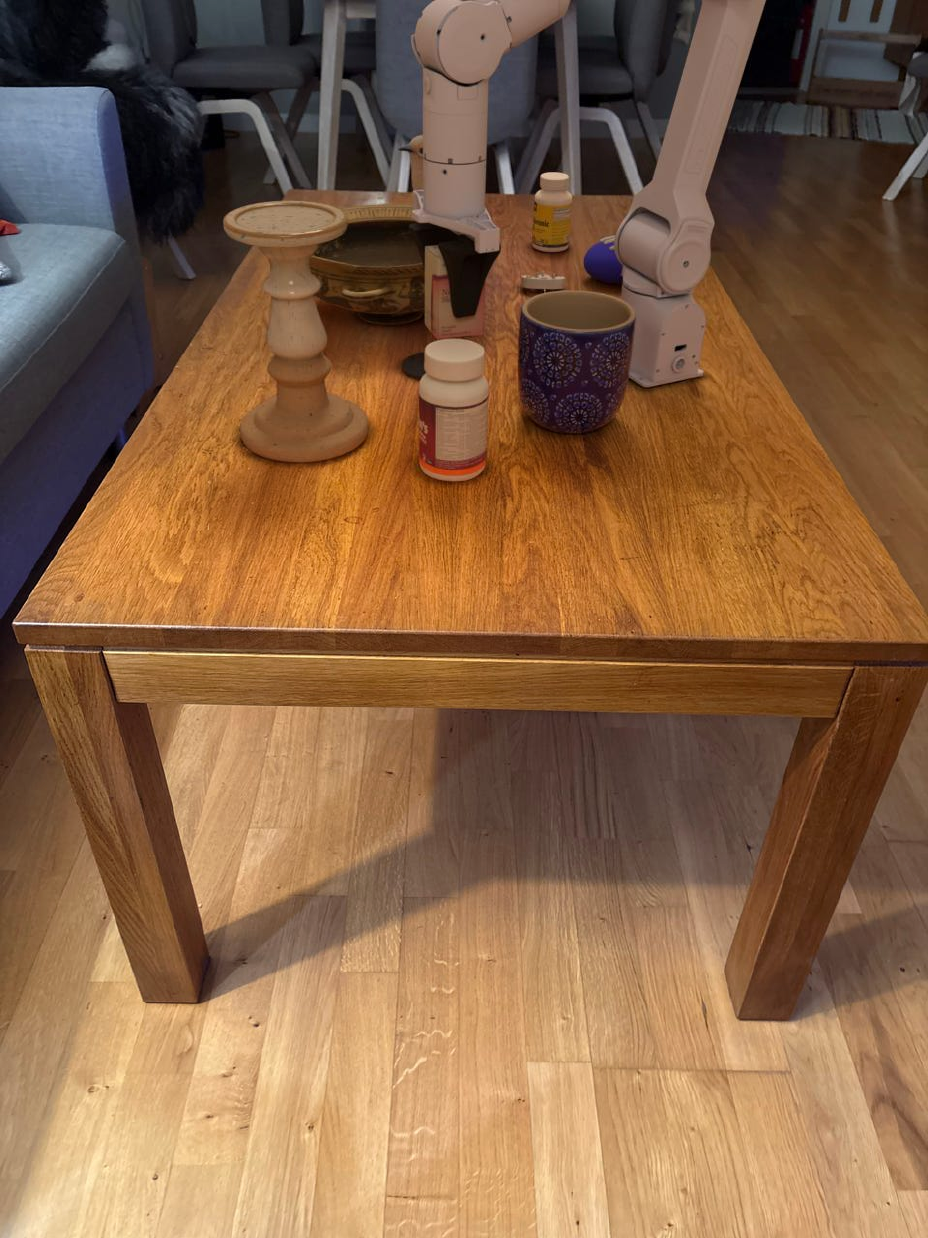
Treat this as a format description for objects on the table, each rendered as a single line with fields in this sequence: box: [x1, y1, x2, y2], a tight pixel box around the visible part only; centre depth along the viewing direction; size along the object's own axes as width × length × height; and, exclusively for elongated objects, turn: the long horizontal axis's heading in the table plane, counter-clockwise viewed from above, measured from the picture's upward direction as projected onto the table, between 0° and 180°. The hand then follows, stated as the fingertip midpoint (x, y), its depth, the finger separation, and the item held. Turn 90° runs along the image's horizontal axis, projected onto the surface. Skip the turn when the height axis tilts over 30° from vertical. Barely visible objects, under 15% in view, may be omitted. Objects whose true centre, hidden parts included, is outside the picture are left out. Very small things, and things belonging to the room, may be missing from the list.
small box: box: [424, 245, 487, 340], centre depth 95 cm, size 5×4×8 cm
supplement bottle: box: [531, 171, 573, 253], centre depth 139 cm, size 5×5×10 cm
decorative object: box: [582, 235, 623, 285], centre depth 128 cm, size 10×6×10 cm
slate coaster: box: [401, 351, 426, 381], centre depth 107 cm, size 7×7×1 cm
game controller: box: [520, 270, 566, 293], centre depth 124 cm, size 6×12×3 cm, turn 16°
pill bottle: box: [418, 338, 490, 482], centre depth 86 cm, size 6×6×11 cm
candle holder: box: [222, 200, 370, 463], centre depth 88 cm, size 12×12×20 cm
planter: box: [517, 289, 636, 435], centre depth 94 cm, size 11×11×11 cm
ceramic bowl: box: [310, 203, 425, 326], centre depth 116 cm, size 30×24×10 cm
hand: (452, 306), depth 95 cm, fingers closed on small box, 4 cm apart
